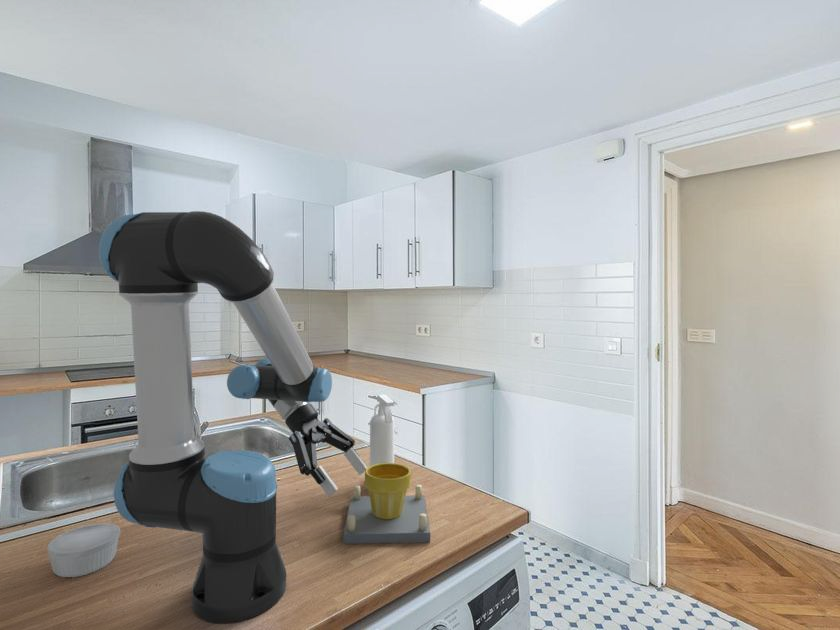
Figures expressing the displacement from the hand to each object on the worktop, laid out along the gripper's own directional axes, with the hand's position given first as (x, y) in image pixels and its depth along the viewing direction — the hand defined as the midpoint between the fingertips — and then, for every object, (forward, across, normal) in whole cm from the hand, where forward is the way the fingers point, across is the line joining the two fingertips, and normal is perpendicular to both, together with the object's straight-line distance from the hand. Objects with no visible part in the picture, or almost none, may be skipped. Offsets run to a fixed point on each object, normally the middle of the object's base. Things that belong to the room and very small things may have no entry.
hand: (349, 481), depth 107 cm
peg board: (+12, 0, +2) cm, 13 cm away
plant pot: (+11, 0, +3) cm, 11 cm away
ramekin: (-19, +37, -31) cm, 52 cm away
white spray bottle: (+5, -17, -6) cm, 19 cm away
